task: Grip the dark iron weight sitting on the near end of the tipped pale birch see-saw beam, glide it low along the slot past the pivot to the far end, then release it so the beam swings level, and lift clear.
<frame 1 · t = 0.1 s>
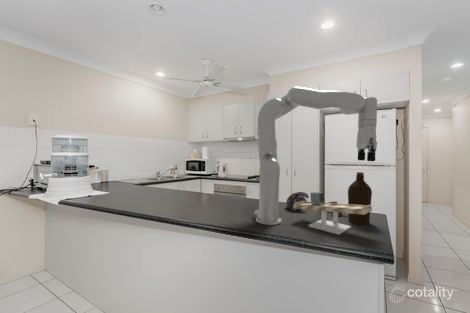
hand: (366, 160, 108), 31 cm above the countertop, tool pointing down, fingers open, 9 cm apart
decorative flower: (296, 209, 138), on the countertop
olive oil: (358, 222, 116), on the countertop
pottery mug: (335, 214, 129), on the countertop
iron weight: (317, 205, 111), point 9 cm above the countertop, tilted 6°, touching beam
trestle: (329, 227, 106), on the countertop
beam: (329, 207, 106), point 9 cm above the countertop, hinge at -6.2°, touching iron weight
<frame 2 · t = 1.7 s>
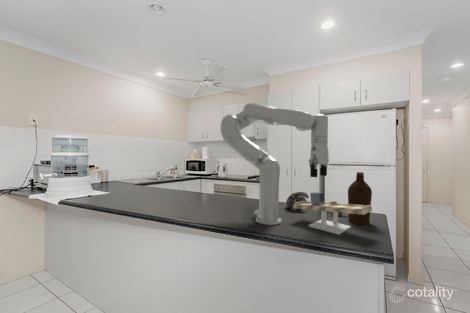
hand: (318, 176, 111), 23 cm above the countertop, tool pointing down, fingers open, 9 cm apart
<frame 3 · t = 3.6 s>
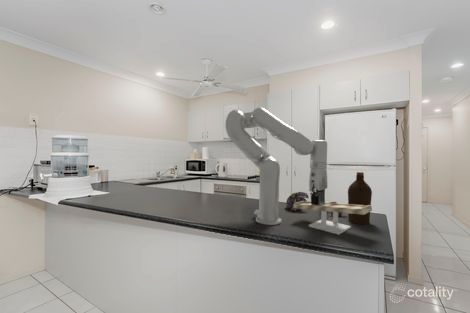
hand: (317, 203, 111), 10 cm above the countertop, tool pointing down, fingers closed on iron weight, 4 cm apart
iron weight: (317, 205, 111), point 9 cm above the countertop, tilted 6°, touching beam, gripper
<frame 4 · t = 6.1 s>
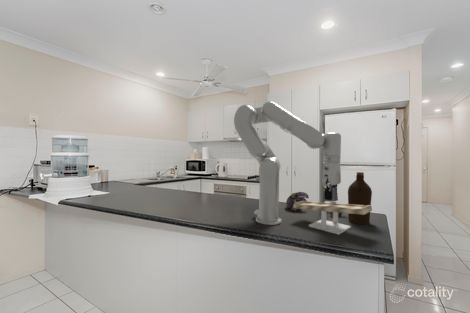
hand: (330, 198, 106), 13 cm above the countertop, tool pointing down, fingers closed on iron weight, 4 cm apart
iron weight: (331, 200, 106), point 12 cm above the countertop, tilted 6°, touching gripper
beam: (329, 207, 106), point 9 cm above the countertop, hinge at -6.2°
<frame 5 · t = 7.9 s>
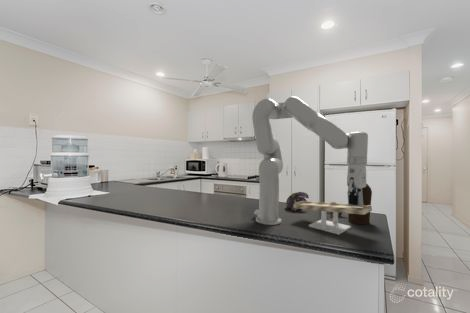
hand: (355, 203, 98), 13 cm above the countertop, tool pointing down, fingers closed on iron weight, 4 cm apart
iron weight: (355, 205, 98), point 12 cm above the countertop, tilted 6°, touching gripper
when the fingers open (13 cm above the countertop, at t = 8.8 s): iron weight drops 2 cm, resting on beam.
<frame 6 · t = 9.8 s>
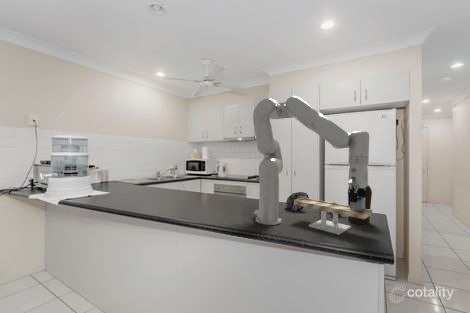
hand: (357, 200, 98), 14 cm above the countertop, tool pointing down, fingers open, 9 cm apart
iron weight: (357, 211, 98), point 10 cm above the countertop, touching beam
beam: (330, 207, 106), point 9 cm above the countertop, hinge at 0.1°, touching iron weight
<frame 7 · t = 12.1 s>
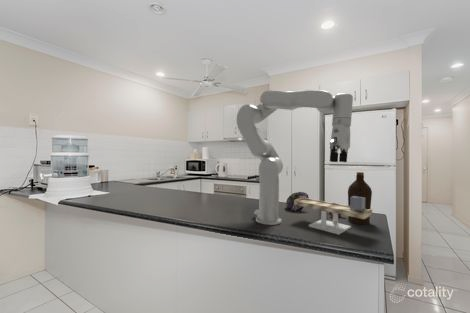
hand: (338, 161, 101), 31 cm above the countertop, tool pointing down, fingers open, 9 cm apart
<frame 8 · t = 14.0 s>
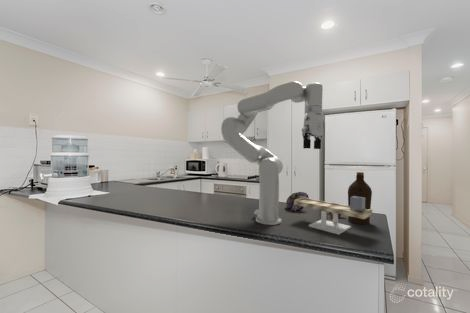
hand: (312, 148, 105), 36 cm above the countertop, tool pointing down, fingers open, 9 cm apart
at the end: beam at +0° (first picture: -6°); iron weight 1.1 cm from the target spot on the beam, point 1.8 cm above the beam's base; iron weight tilted 0° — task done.
